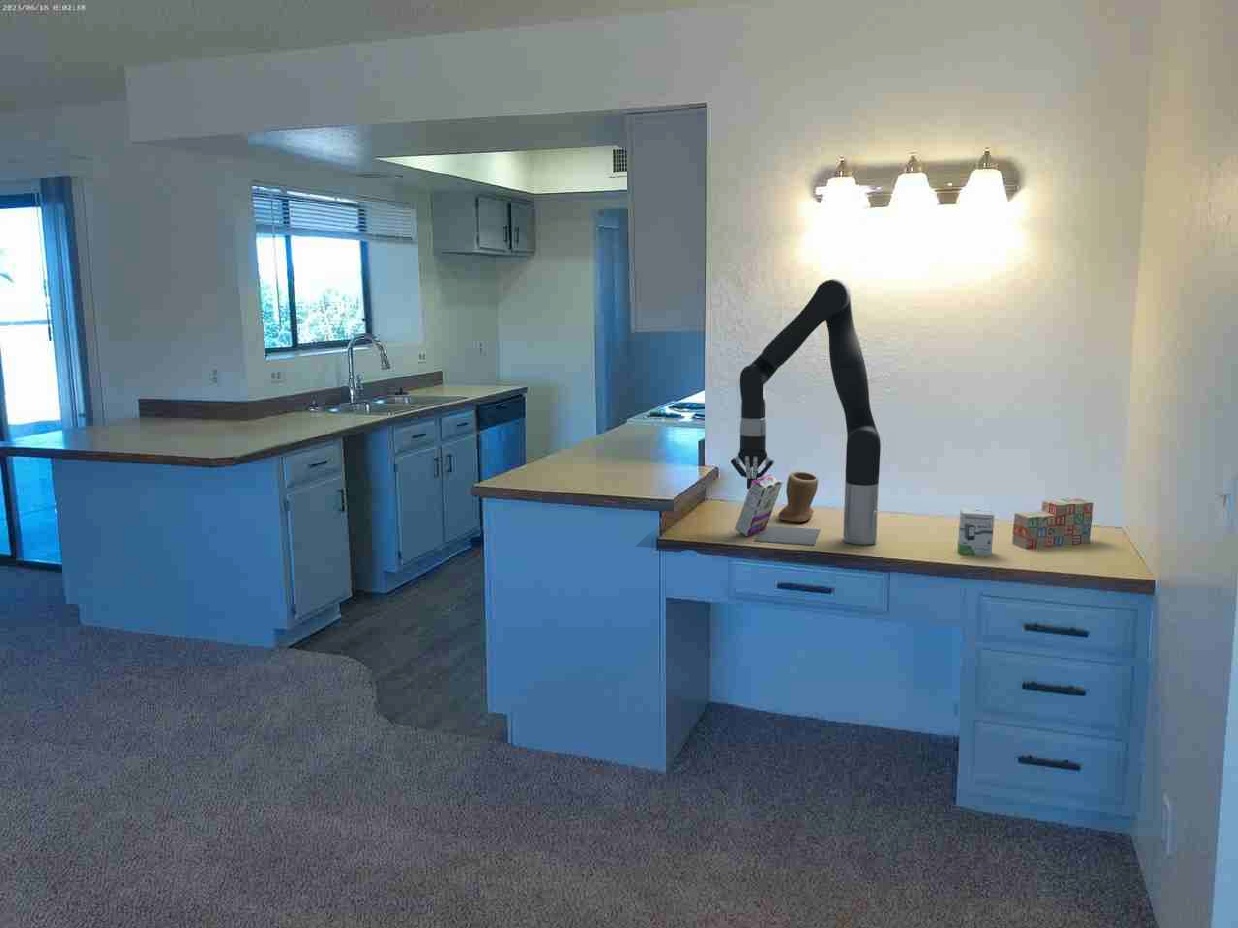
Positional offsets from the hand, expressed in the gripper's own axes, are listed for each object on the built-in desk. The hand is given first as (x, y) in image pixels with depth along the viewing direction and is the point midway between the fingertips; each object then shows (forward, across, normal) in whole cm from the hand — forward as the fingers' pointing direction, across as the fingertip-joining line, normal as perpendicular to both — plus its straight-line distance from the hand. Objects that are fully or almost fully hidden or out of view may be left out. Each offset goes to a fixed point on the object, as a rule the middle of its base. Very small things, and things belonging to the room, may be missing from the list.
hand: (751, 490), depth 286 cm
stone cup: (+13, -11, -22) cm, 28 cm away
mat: (+13, -11, 0) cm, 17 cm away
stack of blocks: (+14, -84, -12) cm, 86 cm away
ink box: (+13, -62, +4) cm, 64 cm away
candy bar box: (+12, 0, 0) cm, 12 cm away
